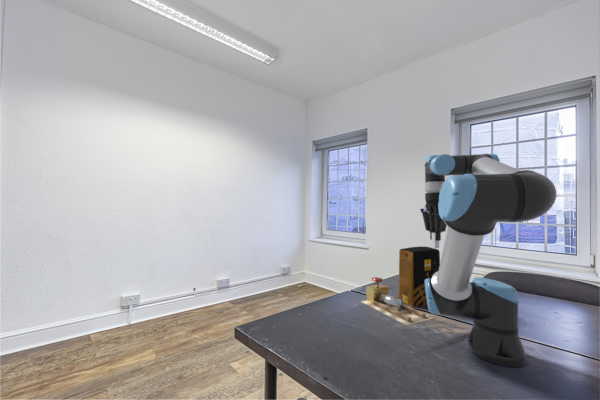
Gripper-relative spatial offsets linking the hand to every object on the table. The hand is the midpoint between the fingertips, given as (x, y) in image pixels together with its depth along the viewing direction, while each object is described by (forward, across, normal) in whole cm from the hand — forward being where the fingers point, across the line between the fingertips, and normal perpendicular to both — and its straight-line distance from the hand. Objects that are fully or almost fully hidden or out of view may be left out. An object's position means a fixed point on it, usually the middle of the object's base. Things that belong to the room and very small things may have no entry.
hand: (435, 248), depth 107 cm
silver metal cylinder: (+29, +16, +10) cm, 34 cm away
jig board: (+30, +14, +9) cm, 35 cm away
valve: (+29, +27, +9) cm, 40 cm away
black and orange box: (+31, +16, -10) cm, 36 cm away
